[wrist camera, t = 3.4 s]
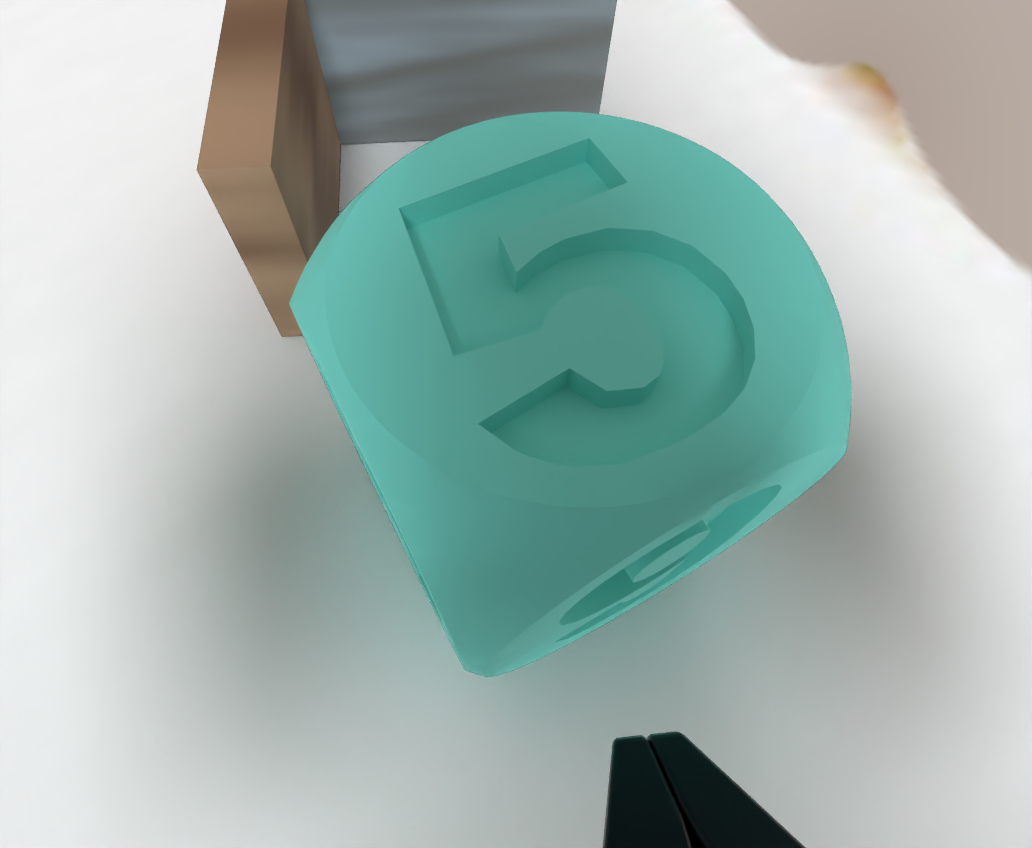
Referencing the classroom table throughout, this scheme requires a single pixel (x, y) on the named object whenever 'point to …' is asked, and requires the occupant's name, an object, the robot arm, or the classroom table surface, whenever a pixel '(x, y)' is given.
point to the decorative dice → (572, 368)
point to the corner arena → (370, 101)
